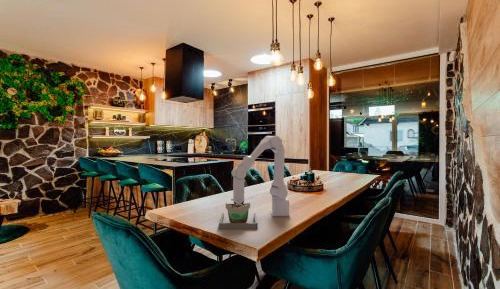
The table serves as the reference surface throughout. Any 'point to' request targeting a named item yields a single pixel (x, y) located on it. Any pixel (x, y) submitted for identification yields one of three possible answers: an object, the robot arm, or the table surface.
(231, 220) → the food container
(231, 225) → the dock
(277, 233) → the table surface
